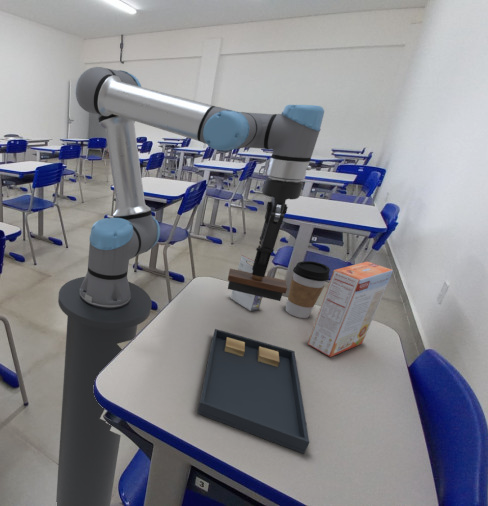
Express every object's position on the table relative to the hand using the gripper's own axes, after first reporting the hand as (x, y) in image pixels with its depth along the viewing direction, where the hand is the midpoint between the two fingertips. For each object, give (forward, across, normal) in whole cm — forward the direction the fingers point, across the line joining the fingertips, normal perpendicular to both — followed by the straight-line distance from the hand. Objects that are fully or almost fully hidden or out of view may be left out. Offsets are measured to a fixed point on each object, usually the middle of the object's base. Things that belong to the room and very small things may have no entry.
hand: (258, 272), depth 88 cm
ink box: (+16, +13, 0) cm, 21 cm away
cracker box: (+16, +3, -21) cm, 27 cm away
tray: (+16, -24, -2) cm, 29 cm away
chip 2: (+15, -14, -5) cm, 21 cm away
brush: (+5, 0, 0) cm, 5 cm away
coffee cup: (+16, +16, -14) cm, 27 cm away
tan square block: (+15, -14, +2) cm, 20 cm away
